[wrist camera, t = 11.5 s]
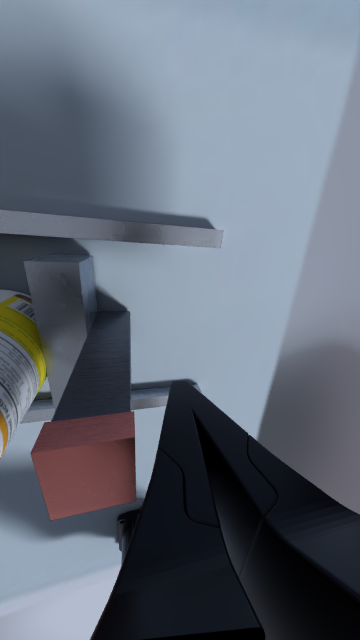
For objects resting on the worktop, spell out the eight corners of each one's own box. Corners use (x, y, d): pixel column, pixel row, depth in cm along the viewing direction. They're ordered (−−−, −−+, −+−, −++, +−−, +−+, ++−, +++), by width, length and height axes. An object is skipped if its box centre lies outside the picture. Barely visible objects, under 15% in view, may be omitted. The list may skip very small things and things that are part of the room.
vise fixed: (196, 393, 18) (211, 427, 14) (-91, 425, 13) (-161, 485, 10) (216, 230, 13) (245, 228, 10) (-226, 190, 8) (-449, 162, 5)
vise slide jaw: (133, 382, 15) (136, 557, 7) (74, 388, 14) (-2, 597, 6) (130, 257, 12) (132, 307, 4) (53, 253, 11) (-185, 310, 3)
